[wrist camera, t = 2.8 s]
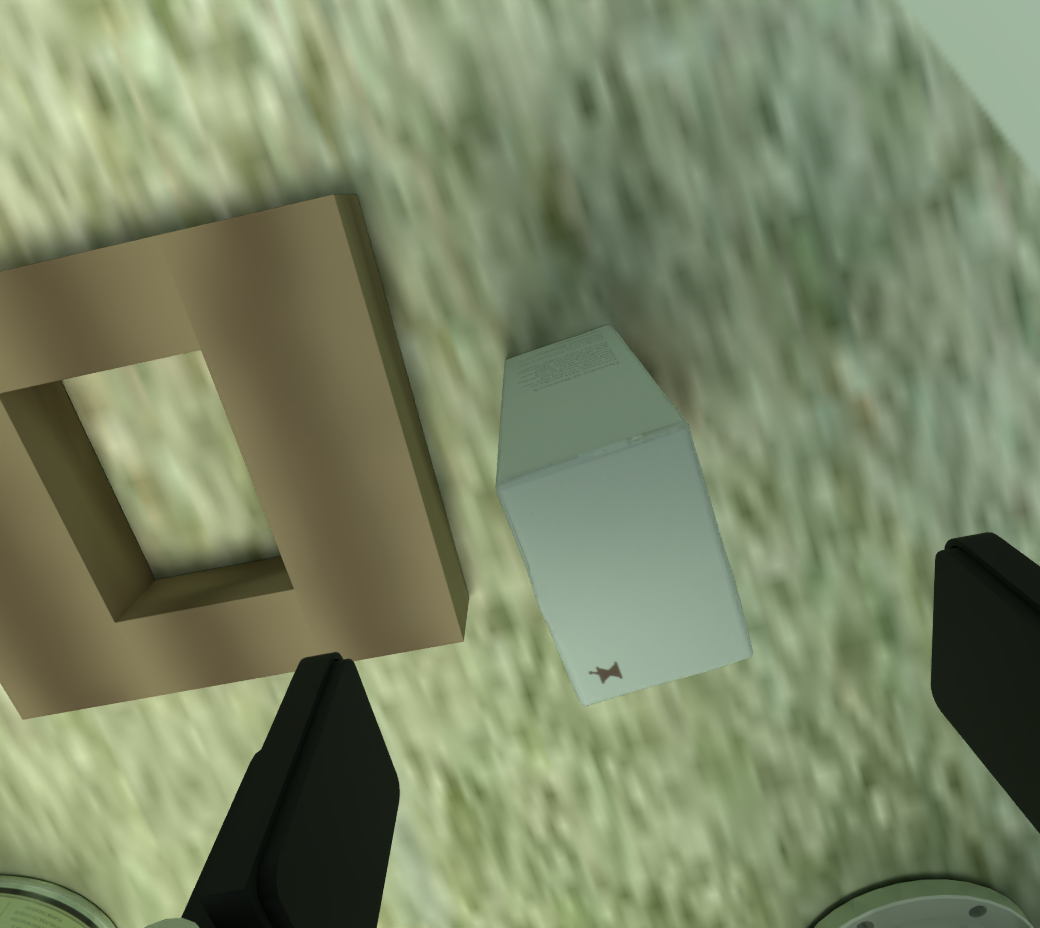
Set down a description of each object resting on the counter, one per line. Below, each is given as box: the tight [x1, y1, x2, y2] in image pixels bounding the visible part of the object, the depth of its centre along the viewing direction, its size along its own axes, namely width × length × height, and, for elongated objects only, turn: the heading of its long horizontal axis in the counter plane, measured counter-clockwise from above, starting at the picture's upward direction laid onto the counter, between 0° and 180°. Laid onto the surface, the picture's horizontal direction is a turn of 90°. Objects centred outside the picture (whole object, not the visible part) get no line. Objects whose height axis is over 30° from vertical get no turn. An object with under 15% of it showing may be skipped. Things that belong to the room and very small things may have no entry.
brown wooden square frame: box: [0, 194, 469, 719], centre depth 25 cm, size 18×16×3 cm
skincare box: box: [496, 325, 753, 706], centre depth 20 cm, size 6×4×12 cm
